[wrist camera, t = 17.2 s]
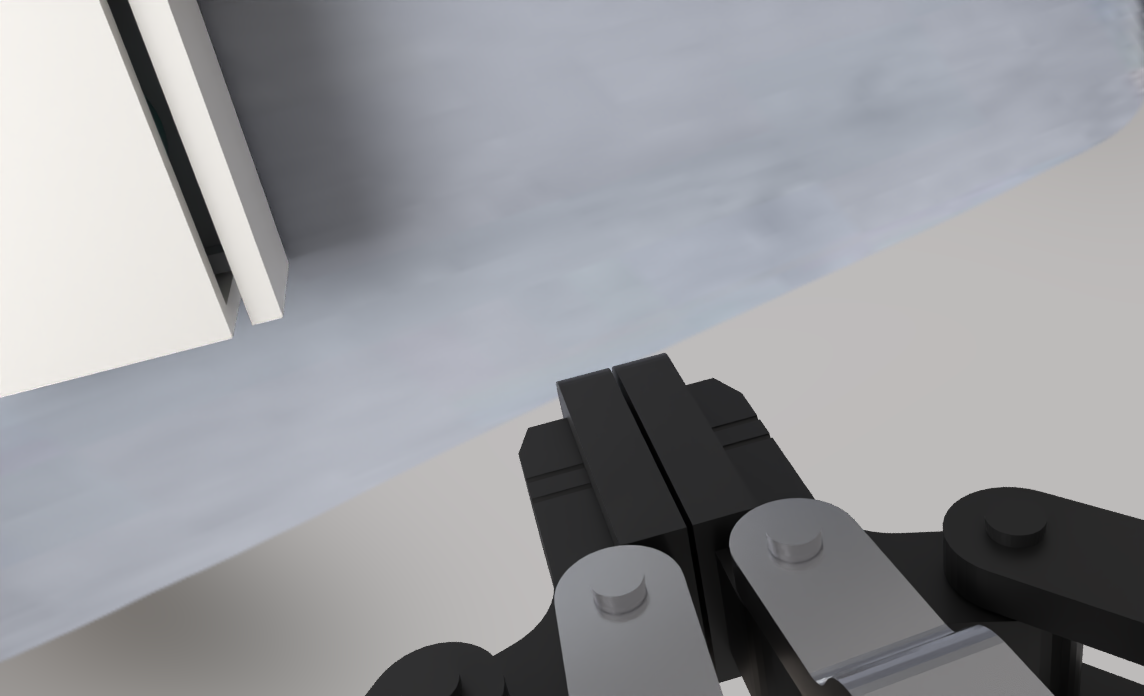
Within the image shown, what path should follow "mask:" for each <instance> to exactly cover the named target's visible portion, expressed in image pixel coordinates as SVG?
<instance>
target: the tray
mask: <svg viewBox="0 0 1144 696" xmlns="http://www.w3.org/2000/svg"><path fill="white" fill-rule="evenodd" d="M107 2H108V5H109V7H110V10H111V13H112V15H113V18H114V20H115V23H116V25H117V28H118V30H119V33H120V35H121V38H122V41H123V43H124V46H125V48H126V51H127V53H128V56H129V58H130V61H131V64H132V66H133V69H134V71H135V74H136V76H137V79H138V81H139V84H140V86H141V89H142V92H143V94H144V95H145V96H146V97H147V99H148V100H149V101H150V103H151V104H152V106H153V107H154V109H155V110H156V112H157V114H158V116H159V118H160V120H161V122H162V125H163V128H164V131H165V133H166V138H167V142H168V151H169V160H170V163H171V166H172V168H173V171H174V173H175V176H176V178H177V181H178V183H179V186H180V188H181V191H182V194H183V196H184V199H185V201H186V204H187V206H188V209H189V211H190V214H191V217H192V219H193V222H194V224H195V227H196V229H197V232H198V234H199V237H200V239H201V242H202V245H203V247H204V250H205V252H206V255H207V257H208V260H209V262H210V265H211V267H212V270H213V273H214V275H215V274H219V273H223V272H227V271H232V273H233V276H234V278H235V281H236V284H237V286H238V289H239V292H240V294H241V297H242V299H243V302H244V305H245V307H246V310H247V312H248V315H249V318H250V320H251V323H252V325H256V324H260V323H264V322H268V321H272V320H276V319H280V318H283V314H284V305H285V296H286V287H287V278H288V269H289V262H288V259H287V256H286V254H285V251H284V248H283V245H282V242H281V239H280V236H279V234H278V231H277V228H276V225H275V222H274V219H273V217H272V214H271V211H270V208H269V205H268V202H267V199H266V197H265V194H264V191H263V188H262V185H261V182H260V180H259V177H258V174H257V171H256V168H255V165H254V162H253V160H252V157H251V154H250V151H249V148H248V145H247V143H246V140H245V137H244V134H243V131H242V128H241V125H240V123H239V120H238V117H237V114H236V111H235V108H234V106H233V103H232V100H231V97H230V94H229V91H228V88H227V86H226V83H225V80H224V77H223V74H222V71H221V69H220V66H219V63H218V60H217V57H216V54H215V51H214V49H213V46H212V43H211V40H210V37H209V34H208V32H207V29H206V26H205V23H204V20H203V17H202V14H201V12H200V9H199V6H198V3H197V0H107Z"/></svg>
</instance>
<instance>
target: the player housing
mask: <svg viewBox="0 0 1144 696" xmlns="http://www.w3.org/2000/svg"><path fill="white" fill-rule="evenodd" d="M240 300H241V294H240V292H239V289H238V286H237V284H236V281H235V278H234V276H233V273H232V271H227V272H223V273H219V274H215V275H214V273H213V270H212V267H211V265H210V262H209V260H208V257H207V255H206V252H205V250H204V247H203V245H202V242H201V239H200V237H199V234H198V232H197V229H196V227H195V224H194V222H193V219H192V217H191V214H190V211H189V209H188V206H187V204H186V201H185V199H184V196H183V194H182V191H181V188H180V186H179V183H178V181H177V178H176V176H175V173H174V171H173V168H172V166H171V163H170V160H169V158H168V155H167V153H166V150H165V148H164V145H163V143H162V140H161V137H160V135H159V132H158V130H157V127H156V125H155V122H154V120H153V117H152V115H151V112H150V109H149V107H148V104H147V102H146V99H145V97H144V94H143V92H142V89H141V86H140V84H139V81H138V79H137V76H136V74H135V71H134V69H133V66H132V64H131V61H130V58H129V56H128V53H127V51H126V48H125V46H124V43H123V41H122V38H121V35H120V33H119V30H118V28H117V25H116V23H115V20H114V18H113V15H112V13H111V10H110V7H109V5H108V2H107V0H0V398H1V397H5V396H9V395H13V394H17V393H20V392H24V391H28V390H32V389H36V388H40V387H44V386H48V385H52V384H56V383H60V382H64V381H67V380H71V379H75V378H79V377H83V376H87V375H91V374H95V373H99V372H103V371H107V370H110V369H114V368H118V367H122V366H126V365H130V364H134V363H138V362H142V361H146V360H150V359H154V358H157V357H161V356H165V355H169V354H173V353H177V352H181V351H185V350H189V349H193V348H197V347H200V346H204V345H208V344H212V343H216V342H220V341H224V340H228V339H232V338H233V335H234V330H235V325H236V320H237V315H238V310H239V305H240Z"/></svg>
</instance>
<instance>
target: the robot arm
mask: <svg viewBox="0 0 1144 696" xmlns="http://www.w3.org/2000/svg"><path fill="white" fill-rule="evenodd" d="M556 385H557V391H558V396H559V401H560V405H561V409H562V413H563V418H564V419H560V420H556V421H552V422H549V423H546V424H541V425H538V426H534V427H530V428H528V430H527V432H526V435H525V438H524V441H523V444H522V446H521V449H520V451H519V458H520V461H521V465H522V469H523V473H524V477H525V481H526V485H527V489H528V492H529V496H530V500H531V504H532V508H533V511H534V516H535V520H536V523H537V527H538V531H539V535H540V539H541V543H542V546H543V550H544V554H545V557H546V561H547V565H548V568H549V572H550V575H551V579H552V583H553V586H554V595H553V599H552V603H551V605H550V607H549V609H548V612H547V613H546V615H545V616H544V618H543V619H542V621H541V622H540V623H539V624H538V625H537V626H536V627H535V628H534V630H532V631H531V632H530V633H529V634H527V635H526V636H525V637H524V638H522V639H521V640H519V641H518V642H516V643H515V644H513V645H512V646H510V647H508V648H506V649H505V650H503V651H501V652H499V653H498V654H496V655H494V656H492V655H491V654H490V653H489V652H488V651H486V650H484V649H482V648H481V647H478V646H475V645H472V644H468V643H462V642H446V643H438V644H434V645H430V646H426V647H423V648H421V649H418V650H416V651H414V652H412V653H410V654H408V655H406V656H404V657H403V658H401V659H400V660H398V661H397V662H395V663H394V664H393V665H392V666H390V667H389V668H388V669H387V670H386V671H385V672H384V673H383V674H382V675H381V676H380V677H379V679H378V680H377V681H376V682H375V684H374V685H373V686H372V688H371V689H370V690H369V691H368V693H367V694H366V695H365V696H723V694H722V691H721V688H720V685H719V683H720V682H724V681H727V680H730V679H733V678H737V677H741V676H742V677H743V680H744V682H745V684H746V686H747V688H748V690H749V693H750V694H751V696H1144V685H1141V684H1139V683H1136V682H1134V681H1131V680H1128V679H1125V678H1123V677H1120V676H1117V675H1115V674H1112V673H1109V672H1106V671H1104V670H1101V669H1098V668H1095V667H1093V666H1090V665H1087V664H1085V663H1082V655H1083V644H1084V645H1087V646H1089V647H1092V648H1095V649H1098V650H1100V651H1103V652H1106V653H1109V654H1112V655H1114V656H1117V657H1120V658H1123V659H1126V660H1128V661H1132V662H1134V663H1137V664H1140V665H1142V666H1144V520H1141V519H1137V518H1134V517H1131V516H1127V515H1123V514H1120V513H1116V512H1112V511H1109V510H1105V509H1101V508H1098V507H1094V506H1091V505H1087V504H1084V503H1080V502H1076V501H1073V500H1069V499H1065V498H1062V497H1058V496H1055V495H1051V494H1047V493H1043V492H1040V491H1035V490H1031V489H1024V488H1016V487H1001V488H991V489H985V490H980V491H977V492H974V493H972V494H969V495H967V496H965V497H963V498H961V499H960V500H958V501H957V502H956V503H954V504H953V505H952V506H951V507H950V509H949V510H948V511H947V513H946V515H945V517H944V522H943V531H941V532H919V533H879V532H871V531H866V530H863V529H862V528H861V527H860V526H859V525H858V523H857V522H856V521H855V520H854V519H853V518H852V517H851V516H850V515H849V514H848V513H846V512H845V511H843V510H842V509H840V508H839V507H836V506H834V505H832V504H830V503H826V502H823V501H819V500H815V499H814V497H813V496H812V494H811V493H810V491H809V490H808V489H807V487H806V486H805V484H804V483H803V481H802V480H801V478H800V477H799V476H798V474H797V473H796V471H795V470H794V468H793V467H792V465H791V464H790V462H789V461H788V460H787V458H786V457H785V455H784V454H783V452H782V451H781V450H780V448H779V446H778V445H777V444H776V442H775V441H774V439H773V438H770V435H769V432H768V431H767V429H766V428H765V426H764V425H763V423H762V422H761V420H758V418H757V415H756V413H755V412H754V410H753V409H752V407H751V406H750V404H749V403H748V402H747V400H746V399H745V397H744V396H743V394H742V393H740V392H739V391H737V390H735V389H733V388H731V387H729V386H727V385H726V384H723V383H722V382H720V381H718V380H716V379H714V378H712V379H708V380H704V381H701V382H697V383H693V384H689V385H685V383H684V382H683V380H682V378H681V377H680V375H679V373H678V372H677V370H676V368H675V367H674V365H673V363H672V362H671V360H670V358H669V357H668V355H667V354H666V353H662V354H659V355H655V356H651V357H647V358H644V359H640V360H636V361H632V362H628V363H625V364H621V365H617V366H613V367H612V372H611V370H610V369H609V368H607V369H603V370H599V371H595V372H592V373H588V374H584V375H580V376H577V377H573V378H569V379H565V380H562V381H558V382H556Z"/></svg>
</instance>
